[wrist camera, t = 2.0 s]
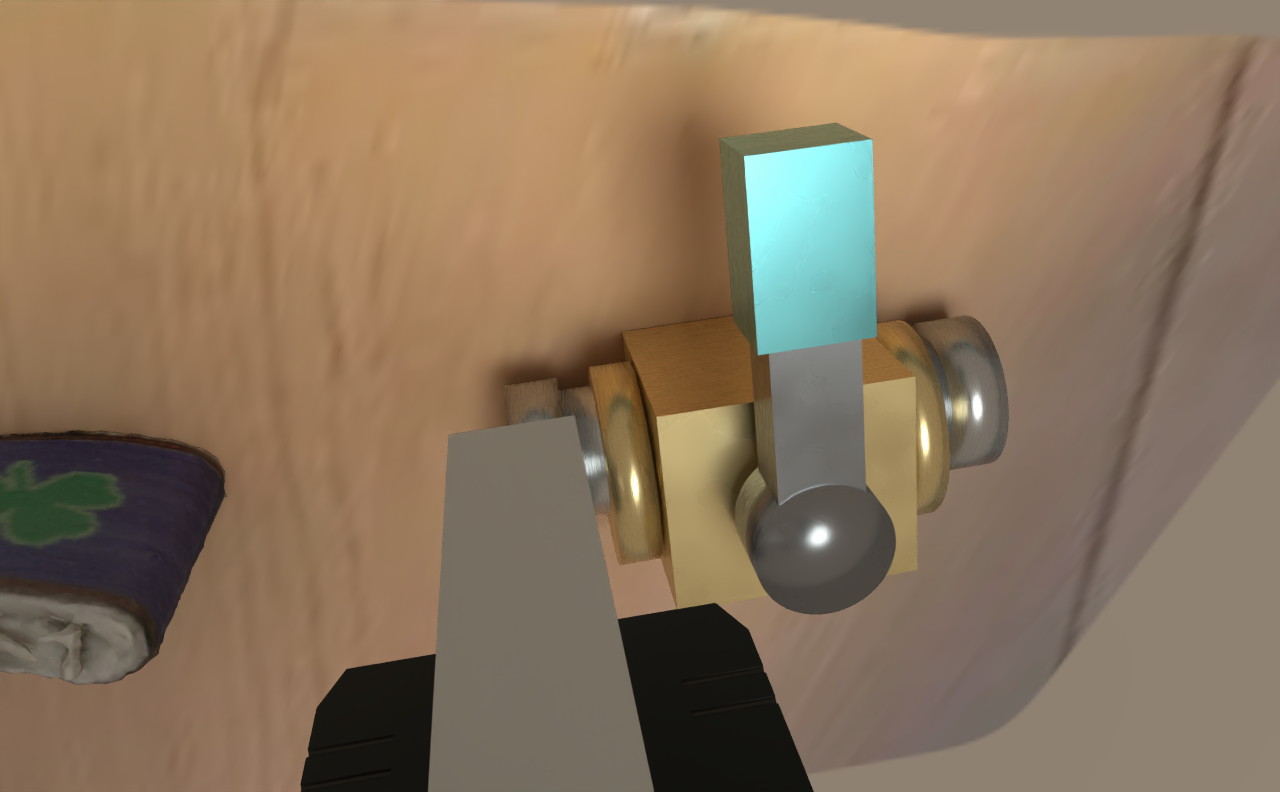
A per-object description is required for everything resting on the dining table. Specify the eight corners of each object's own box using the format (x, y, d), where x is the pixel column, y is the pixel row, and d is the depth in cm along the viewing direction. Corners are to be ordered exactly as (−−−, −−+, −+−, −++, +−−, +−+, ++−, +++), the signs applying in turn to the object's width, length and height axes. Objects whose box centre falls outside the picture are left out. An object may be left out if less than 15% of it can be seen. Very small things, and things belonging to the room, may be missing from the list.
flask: (-83, 512, 34) (-308, 740, 24) (-97, 425, 33) (-338, 625, 23) (231, 517, 35) (142, 732, 26) (227, 433, 34) (133, 624, 24)
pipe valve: (526, 511, 37) (540, 643, 30) (499, 346, 35) (507, 446, 28) (944, 443, 39) (1053, 554, 31) (945, 279, 36) (1062, 359, 29)
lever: (865, 554, 30) (898, 603, 28) (738, 575, 30) (761, 627, 28) (852, 120, 26) (890, 136, 23) (702, 140, 25) (725, 158, 23)
